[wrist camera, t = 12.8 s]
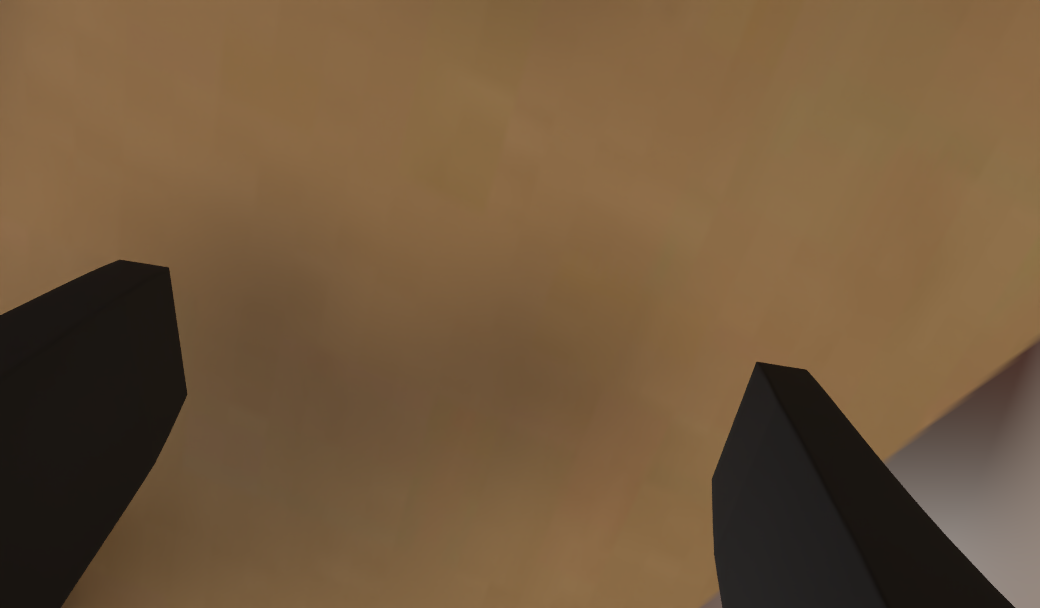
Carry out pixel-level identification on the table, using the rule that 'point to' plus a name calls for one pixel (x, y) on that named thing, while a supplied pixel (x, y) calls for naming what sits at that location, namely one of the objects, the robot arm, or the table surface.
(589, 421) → the table surface
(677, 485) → the table surface
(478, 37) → the table surface
